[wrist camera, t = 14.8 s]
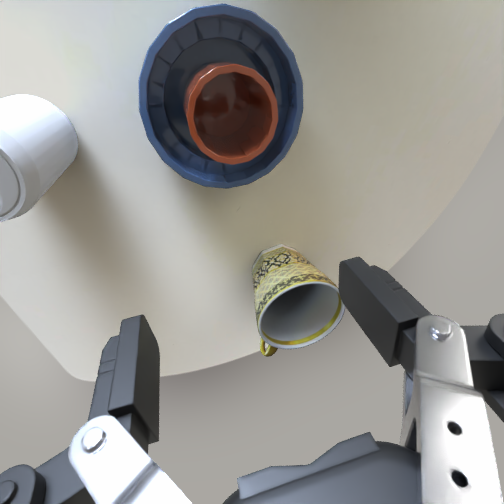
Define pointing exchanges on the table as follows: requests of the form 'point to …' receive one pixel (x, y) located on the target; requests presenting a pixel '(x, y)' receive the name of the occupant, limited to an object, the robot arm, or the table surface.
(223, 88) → the cup
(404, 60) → the table surface
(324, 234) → the table surface
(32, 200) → the beverage can
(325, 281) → the ceramic cup
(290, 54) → the bowl
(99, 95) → the table surface
